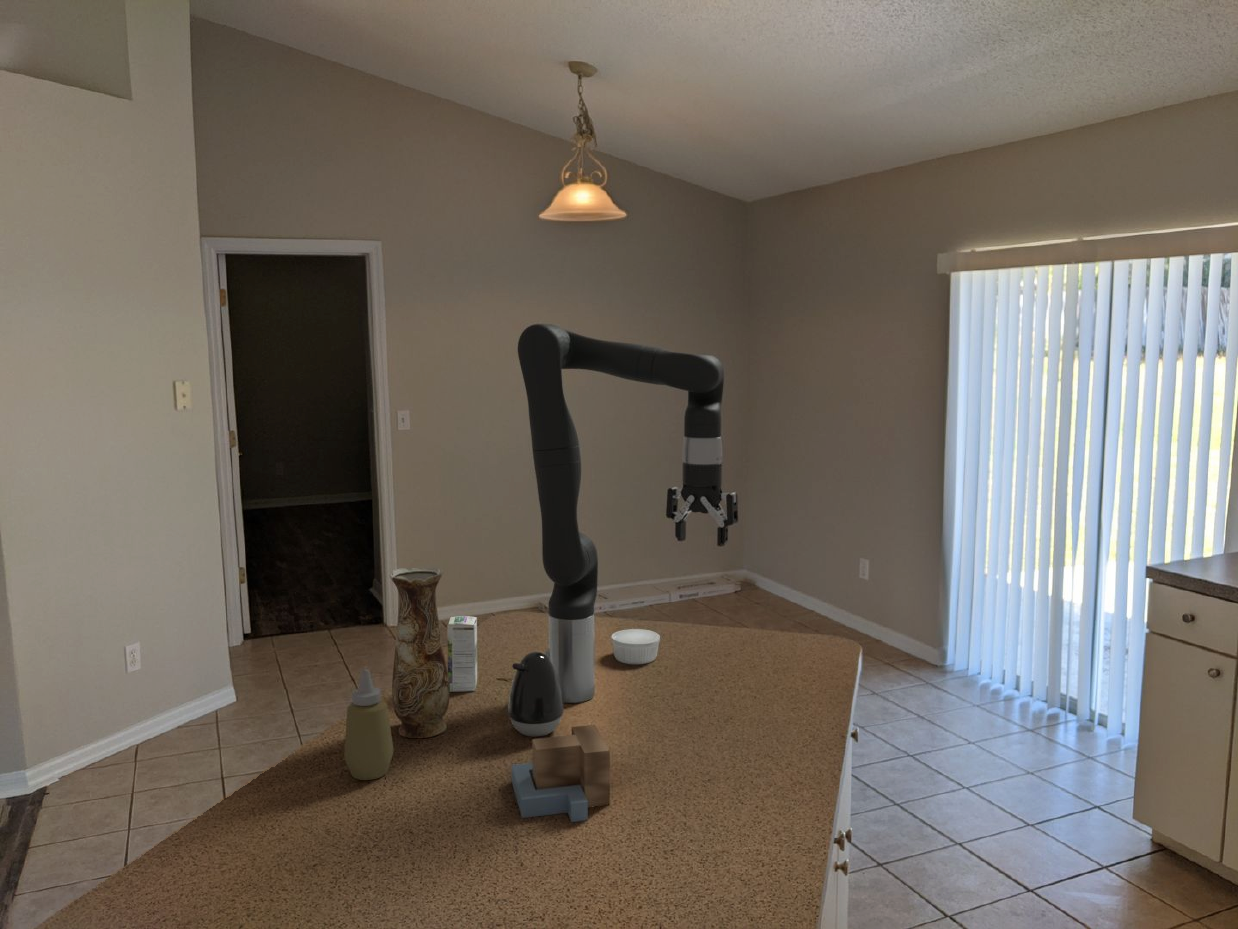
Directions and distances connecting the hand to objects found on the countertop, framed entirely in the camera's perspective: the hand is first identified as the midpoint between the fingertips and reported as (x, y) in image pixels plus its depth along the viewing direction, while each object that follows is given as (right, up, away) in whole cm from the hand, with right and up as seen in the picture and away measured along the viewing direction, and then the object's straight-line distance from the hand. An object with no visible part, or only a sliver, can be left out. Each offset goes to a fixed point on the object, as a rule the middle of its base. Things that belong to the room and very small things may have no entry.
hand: (701, 543), depth 180 cm
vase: (-53, -34, -6) cm, 63 cm away
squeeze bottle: (-58, -37, -23) cm, 72 cm away
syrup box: (-49, -32, +15) cm, 60 cm away
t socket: (-28, -38, -31) cm, 56 cm away
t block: (-24, -38, -31) cm, 54 cm away
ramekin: (-12, -29, +33) cm, 45 cm away
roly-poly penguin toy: (-31, -35, -7) cm, 47 cm away
